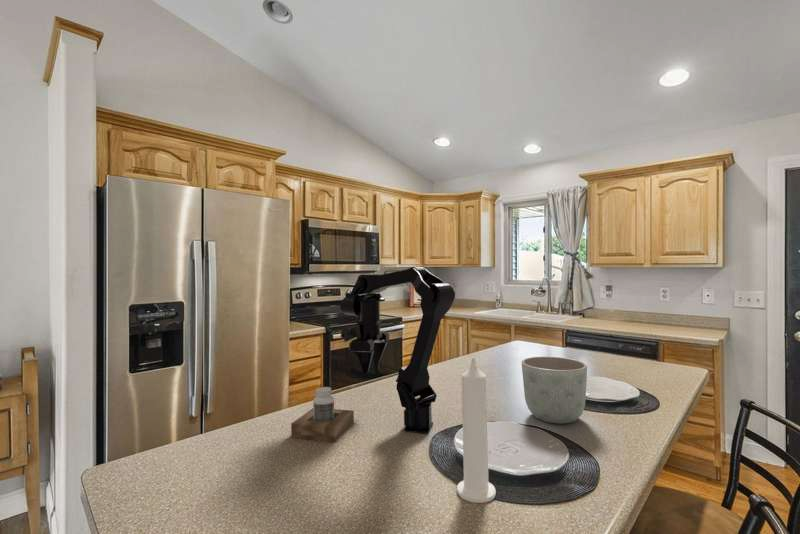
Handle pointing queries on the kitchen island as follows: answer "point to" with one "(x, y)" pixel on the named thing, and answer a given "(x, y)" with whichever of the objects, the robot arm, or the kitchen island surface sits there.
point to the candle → (475, 438)
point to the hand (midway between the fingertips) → (371, 369)
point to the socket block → (322, 426)
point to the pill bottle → (323, 405)
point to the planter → (555, 388)
